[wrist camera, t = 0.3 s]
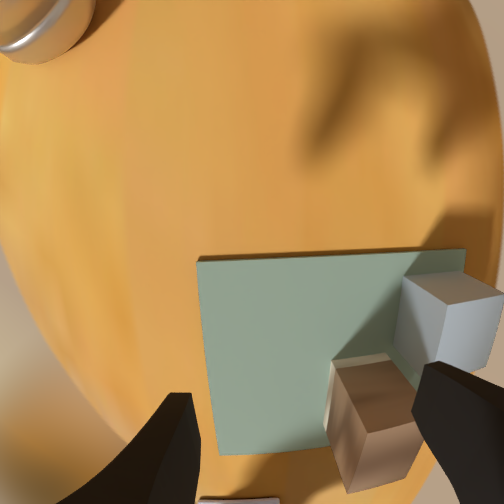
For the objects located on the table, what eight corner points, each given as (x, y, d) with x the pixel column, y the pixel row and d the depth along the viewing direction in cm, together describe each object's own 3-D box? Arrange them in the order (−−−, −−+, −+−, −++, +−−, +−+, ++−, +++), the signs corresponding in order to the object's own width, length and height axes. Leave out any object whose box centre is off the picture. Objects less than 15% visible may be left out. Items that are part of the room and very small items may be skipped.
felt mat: (421, 421, 22) (423, 423, 21) (219, 452, 21) (219, 455, 21) (463, 248, 18) (466, 249, 18) (196, 260, 17) (196, 262, 17)
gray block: (447, 334, 19) (485, 366, 14) (392, 345, 19) (427, 385, 14) (459, 270, 18) (505, 294, 13) (402, 276, 18) (447, 305, 13)
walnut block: (371, 414, 20) (404, 478, 14) (322, 423, 20) (347, 494, 14) (385, 352, 19) (434, 414, 12) (331, 360, 19) (367, 433, 12)
